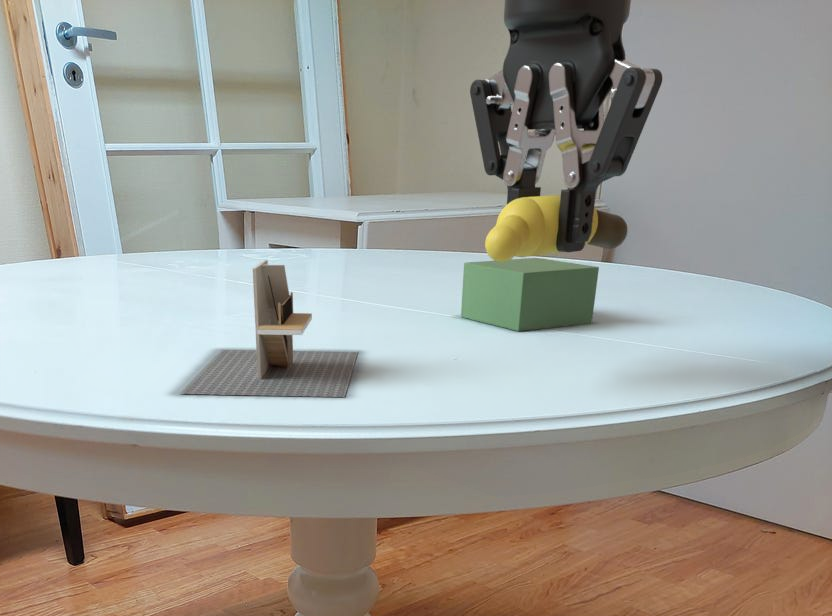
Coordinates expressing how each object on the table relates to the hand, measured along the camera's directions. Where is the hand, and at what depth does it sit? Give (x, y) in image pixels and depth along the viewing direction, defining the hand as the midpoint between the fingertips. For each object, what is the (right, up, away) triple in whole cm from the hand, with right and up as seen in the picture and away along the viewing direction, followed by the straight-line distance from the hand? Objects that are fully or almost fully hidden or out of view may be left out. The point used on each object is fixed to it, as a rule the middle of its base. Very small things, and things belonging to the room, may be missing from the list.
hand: (545, 247), depth 61 cm
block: (+4, +4, +26) cm, 26 cm away
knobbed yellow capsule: (-1, 0, +1) cm, 1 cm away
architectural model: (-19, -7, +6) cm, 21 cm away
